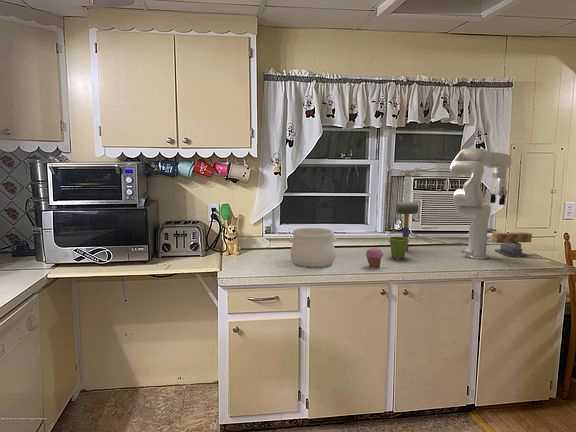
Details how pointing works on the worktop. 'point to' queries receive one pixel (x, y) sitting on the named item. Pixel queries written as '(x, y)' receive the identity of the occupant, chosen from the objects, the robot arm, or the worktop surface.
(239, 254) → the worktop surface
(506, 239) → the walnut rod
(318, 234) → the pot
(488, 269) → the worktop surface
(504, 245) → the fulcrum stand
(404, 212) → the rubber mallet
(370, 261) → the cupcake
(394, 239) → the plant pot
